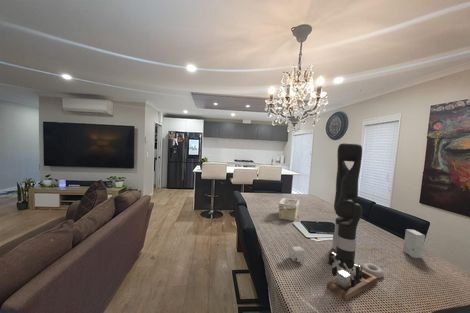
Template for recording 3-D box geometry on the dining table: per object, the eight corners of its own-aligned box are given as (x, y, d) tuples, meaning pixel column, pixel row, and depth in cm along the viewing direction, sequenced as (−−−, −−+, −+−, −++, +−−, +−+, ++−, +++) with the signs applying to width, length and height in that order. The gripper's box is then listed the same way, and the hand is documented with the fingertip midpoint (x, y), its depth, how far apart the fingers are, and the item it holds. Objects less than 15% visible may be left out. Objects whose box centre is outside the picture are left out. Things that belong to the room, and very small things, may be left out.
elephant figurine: (295, 267, 111) (296, 251, 111) (284, 255, 123) (285, 241, 122) (310, 265, 114) (311, 249, 113) (298, 253, 125) (299, 239, 125)
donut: (356, 270, 111) (375, 281, 102) (357, 264, 111) (376, 274, 102) (368, 266, 115) (388, 277, 106) (369, 260, 115) (388, 270, 106)
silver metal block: (335, 289, 94) (336, 272, 94) (340, 286, 96) (342, 269, 96) (344, 295, 91) (345, 277, 90) (349, 291, 93) (351, 274, 92)
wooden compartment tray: (326, 288, 95) (327, 282, 95) (358, 273, 108) (358, 267, 108) (345, 302, 87) (346, 294, 87) (376, 283, 100) (377, 276, 100)
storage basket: (282, 211, 206) (282, 197, 205) (299, 214, 200) (299, 199, 199) (277, 219, 184) (278, 202, 183) (296, 222, 178) (296, 205, 177)
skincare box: (402, 251, 134) (404, 228, 133) (411, 251, 134) (413, 229, 133) (413, 258, 126) (415, 234, 125) (423, 258, 126) (425, 234, 125)
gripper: (326, 241, 97) (324, 274, 97) (357, 255, 84) (354, 293, 85) (336, 238, 100) (333, 270, 101) (367, 251, 88) (364, 288, 89)
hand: (343, 281), depth 93 cm, fingers open, 8 cm apart
